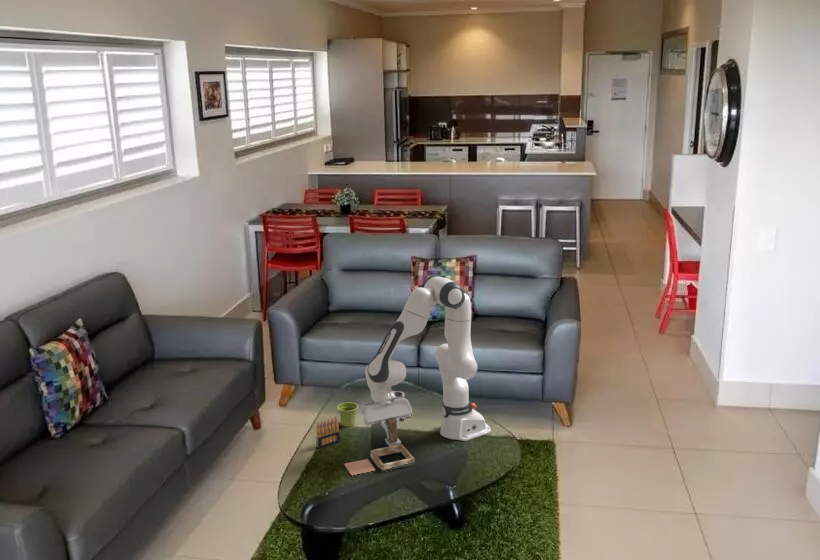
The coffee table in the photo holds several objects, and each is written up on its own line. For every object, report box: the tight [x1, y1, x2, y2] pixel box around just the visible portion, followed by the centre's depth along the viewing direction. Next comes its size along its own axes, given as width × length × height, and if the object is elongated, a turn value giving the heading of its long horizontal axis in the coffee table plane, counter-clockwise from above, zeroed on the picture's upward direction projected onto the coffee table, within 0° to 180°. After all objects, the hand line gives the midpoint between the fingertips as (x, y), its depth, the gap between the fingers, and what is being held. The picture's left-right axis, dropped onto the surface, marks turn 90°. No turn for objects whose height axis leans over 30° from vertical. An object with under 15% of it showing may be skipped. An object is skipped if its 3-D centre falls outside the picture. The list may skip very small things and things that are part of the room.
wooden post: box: [384, 419, 402, 447], centre depth 301 cm, size 5×5×10 cm
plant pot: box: [336, 402, 359, 428], centre depth 338 cm, size 9×9×9 cm
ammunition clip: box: [315, 416, 341, 449], centre depth 318 cm, size 11×2×12 cm, turn 126°
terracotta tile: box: [344, 458, 376, 477], centre depth 299 cm, size 10×10×1 cm
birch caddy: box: [370, 443, 416, 471], centre depth 304 cm, size 14×14×3 cm
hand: (392, 430), depth 301 cm, fingers closed on wooden post, 2 cm apart
